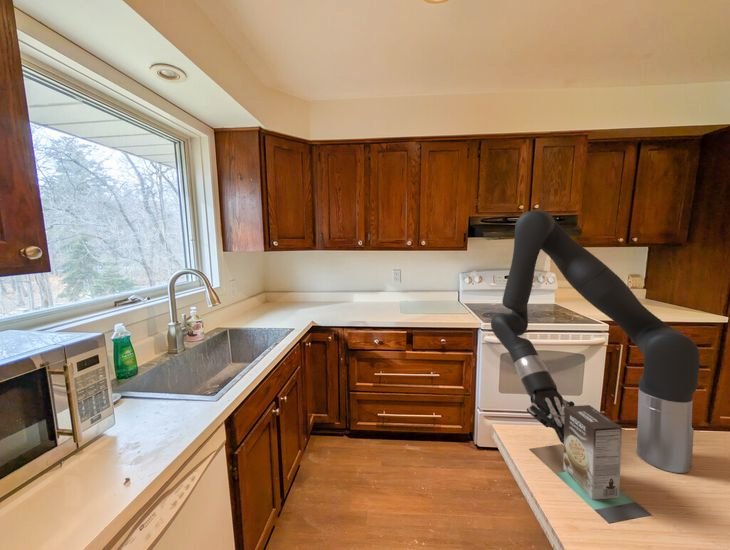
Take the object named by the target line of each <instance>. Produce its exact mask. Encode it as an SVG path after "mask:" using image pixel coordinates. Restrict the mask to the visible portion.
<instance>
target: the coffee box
mask: <svg viewBox="0 0 730 550" xmlns="http://www.w3.org/2000/svg"><path fill="white" fill-rule="evenodd" d="M622 432H623V426H621V425H619V424H618V423H616V422H615V421H613V420H612V419H610V418H609V417H608V416H606V415H605V414H604V413H602V412H600V411H599V410H597V409H596V408H595V407H593V406H591V405H590V404H585V405H574V406H571V407H565V415H564V444H563V445H564V465H563V466H564V467H563V469H564V470H565V471H566V472H567V473H568V475H569V476H570V477H571V478H572V479H573V480H574V481H575V482H576V483H577V484H578V485H579V486H580V487H581V488H582V489H583V490H584V491H585V493H586V494H587V495H588V496H589V497H590V498H591V499H593V500H595V499H609V498H619V489H620V485H621V484H620V482H621V481H620V479H621V460H622V459H621V458H622V457H621V456H622V435H623V433H622Z"/></svg>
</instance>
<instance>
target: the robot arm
mask: <svg viewBox="0 0 730 550" xmlns="http://www.w3.org/2000/svg"><path fill="white" fill-rule="evenodd" d="M513 241H514V244H513V253H512V259H511V265H510V269H509V274H508V275H507V280H506V283H505V289H504V292H503V295H502V296H503V297H502V303H501V304H502V305H503V306H504V307H505V308H507V309H509V310H511V313H497V314H494V315H493V317H491V318H492V319H491V320H490V327H491V331H492V332H493V334H494V336H495V338H496V339H497V340H498V342H500V343H501V345H502V346H503V347H504V348H505V349H506V351H507V352H508V353H509V355H510V358H511V361H512V362H513V364H514V366H515V369H516V372H517V374H518V377H519V379H520V380H521V383H522V385H523V386H524V389H525V392H526V393H527V395H528V396H529V397H530V402H531V404H530V405H529V407H527V408H526V412H527V413H529V414H530V415H531V416H532V417H534V419H536V420H537V421H538V422H539V423H540V424H542V425H543V426H544V427H545V428H552V429H553V430H554V431H555V433H556V435H557V437H558V440H559V441H560V443H561V444H562V445H564V415H565V407H571V406H575V403H574V401H572V400H570V401H568V400H566V399H564V397H563V396H562V395H561V394H560V392H558V388H557V387H558V386H557V385H556V384H557V383H555V381H554V379H553V378H552V375H551V372H549V370H548V368H547V366H546V364H545V363H544V361H543V359H541V357H540V355H539V354H538V351H537V349H536V348H535V346H534V344H533V343H532V341H531V340H530V339H528V338H525V337H521V336H523V335H524V334H525V333H526V331H527V330H528V327H529V319H528V318H529V317H528V315H529V314H528V312H529V311H528V304H529V300H530V295H531V293H532V288H533V284H534V277H535V272H536V271H535V270H536V265H537V260H538V257H539V254H540V252H541V251H542V252H543V253H544V254H546V255H548V257H549V258H550V259H551V260H552V261H553V263H554V264H555V265H556V267H557V269H559V272H560V273H561V275H562V276H563V277H564V278H565V280H566V282H568V284H569V285H570V286H571V287H572V288H573V289H574V290H575V291H576V292H577V293H578V294H579V295H581V296H582V297H583V298H584V300H586V301H587V303H590V305H592V306H593V307H594V308H595V309H596V310H598V311H599V312H601V313H603V314H604V315H605V316H606V317H608V318H609V319H610V320H612V321H613V322H614V323H615V324H617V326H618V327H619V328H621V330H622V331H623V332H624V333H625V334H626V335H627V336H628V338H629V339H630V340H631V341H632V342H633V343H634V345H635V346H636V347H637V349H638V350H639V351H640V353H641V354H642V355H643V369H642V371H643V372H642V375H641V376H640V377H639V378H638V398H637V399H638V400H637V429H636V430H637V433H636V434H637V435H636V453H637V456H638V457H639V458H640V459H642V460H643V461H644V462H645V463H648V464H650V465H651V466H653V467H655V468H658V469H661V470H664V471H665V472H670V473H675V474H685V473H688V472H689V471H690V467H692V466H693V450H694V449H693V446H694V428H693V427H692V423H693V399H694V397H693V396H694V393H695V392H696V390H697V388H698V384H699V373H700V362H701V360H700V359H701V358H700V356H701V355H700V354H701V353H700V350H699V347H698V345H697V343H695V341H694V340H692V339H691V338H690V337H689V336H687V335H685V334H683V333H682V332H679V330H676V329H675V328H673V327H671V326H670V325H669V324H667V323H665V322H664V321H663V320H662V319H660V318H658V316H656V315H655V314H654V313H652V312H651V311H650V310H649V309H647V308H646V307H645V306H644V305H643V304H642V302H641V301H639V299H638V298H637V297H636V295H635V294H634V293H633V291H632V289H630V287H629V286H628V285H627V284H626V283H625V282H624V280H623V279H621V278H620V276H619V275H618V274H616V273H615V272H614V271H613V270H612V269H611V268H610V267H609V266H607V264H605V263H604V262H603V261H601V260H600V259H599V258H598V257H596V256H595V255H594V254H593V253H591V251H589V250H588V249H586V248H585V247H583V246H582V245H581V244H580V243H578V242H577V241H575V240H574V239H573V238H572V237H571V236H570V235H569V234H568V233H567V232H566V230H565V229H563V227H562V226H561V225H560V224H559V222H557V220H556V219H555V218H554V217H553V216H552V215H551V214H550V213H549V212H547V211H545V210H541V209H533V210H529V211H526V212H524V213H523V214H521V215H520V216H519V217H518V218H517V220H516V222H515V226H514V240H513Z"/></svg>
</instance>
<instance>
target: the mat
mask: <svg viewBox="0 0 730 550" xmlns="http://www.w3.org/2000/svg"><path fill="white" fill-rule="evenodd" d="M528 450H529V451H530V452H531V453H532V454H533V455H534V456H535V457H537V459H539V460H540V461H541V462H542V463H543V464H544V465H545V466H546V467H547V468H548V469H550V471H551V472H552V473H554V474H555V475H556V476H557V477H558V478H559V479H561V481H562V482H564V484H566V485H567V486H568V487H569V488H570V489H571V490H572V491H573V492H574V493H575V494H576V495H577V496H579V497H580V498H581V499H582V500H583V502H585V503H586V504H587V505H588V506H590V508H592V509H593V510H594V511H595V512H596V513H597V514H598V515H599V516H600V517H601V518H602V519H603V520H604V521H605V522H607V524H614V523H618V522H624V521H629V520H634V519H638V518H643V517H648V516H653V514H652V513H651V512H650V511H648V510H647V509H645V508H644V507H643V506H642V505H640V504H639V503H638V502H637V501H635V500H634V499H633V498H632V497H630V496H629V495H628V494H627V493H625V492H624V491H622V490H621V489H620V488H619V498H609V499H595V500H593V499H591V498H590V497H589V496H588V495H587V494H586V493H585V491H584V490H583V489H582V488H581V487H580V486H579V485H578V484H577V483H576V482H575V481H574V480H573V479H572V478H571V477H570V476H569V475H568V473H567V472H566V471H565V470H564V469H563V467H564V466H563V465H564V444H563V443H561V444H551V445H546V446H539V447H532V448H528Z"/></svg>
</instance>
